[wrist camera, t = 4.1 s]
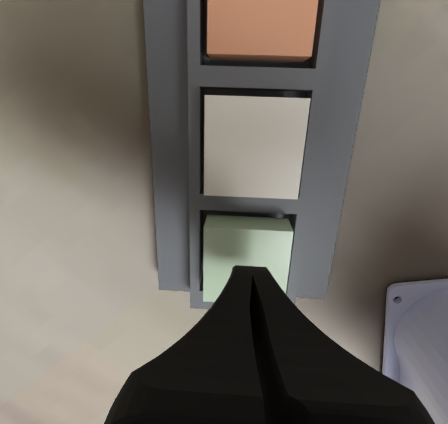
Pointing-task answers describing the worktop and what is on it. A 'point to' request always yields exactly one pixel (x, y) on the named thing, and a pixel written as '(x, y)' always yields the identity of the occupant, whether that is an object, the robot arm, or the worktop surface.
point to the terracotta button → (261, 29)
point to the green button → (244, 249)
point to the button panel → (257, 87)
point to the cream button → (254, 146)
